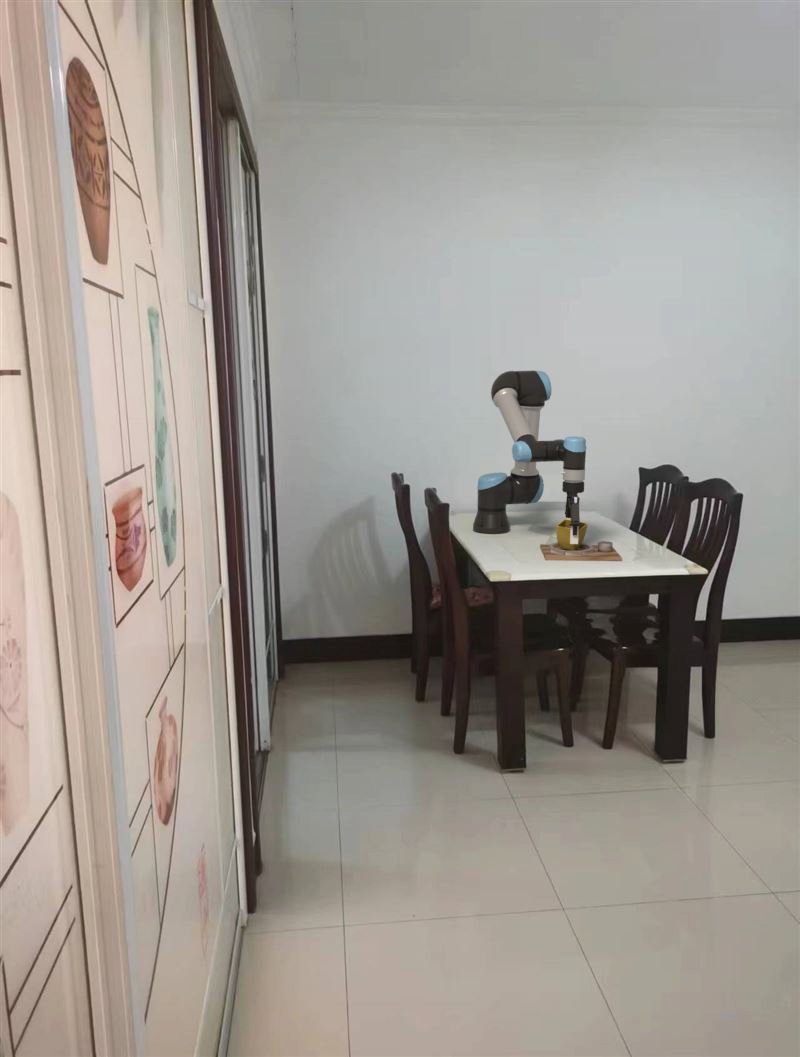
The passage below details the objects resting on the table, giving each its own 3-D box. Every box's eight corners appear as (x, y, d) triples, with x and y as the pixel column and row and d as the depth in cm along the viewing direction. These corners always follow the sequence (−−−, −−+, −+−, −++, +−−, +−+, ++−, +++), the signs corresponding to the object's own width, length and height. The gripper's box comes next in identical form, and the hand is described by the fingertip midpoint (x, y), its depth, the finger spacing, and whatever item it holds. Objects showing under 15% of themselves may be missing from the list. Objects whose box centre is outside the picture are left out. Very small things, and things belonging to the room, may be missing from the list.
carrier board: (540, 547, 296) (540, 536, 295) (611, 548, 294) (611, 537, 293) (545, 560, 277) (545, 548, 276) (621, 561, 275) (622, 549, 274)
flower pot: (586, 546, 288) (588, 523, 285) (577, 554, 281) (579, 530, 278) (563, 541, 293) (564, 518, 290) (554, 549, 286) (555, 525, 283)
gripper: (558, 476, 293) (556, 532, 297) (567, 486, 268) (565, 547, 273) (579, 476, 292) (577, 532, 296) (589, 486, 268) (587, 547, 272)
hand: (571, 539), depth 285 cm, fingers open, 13 cm apart
